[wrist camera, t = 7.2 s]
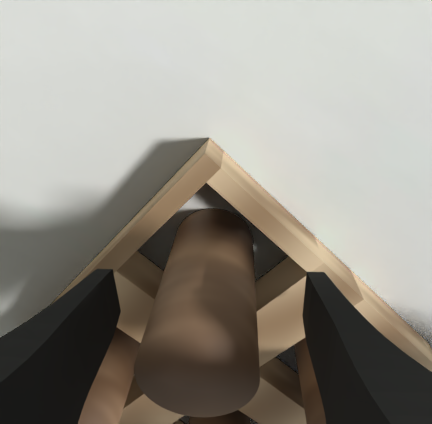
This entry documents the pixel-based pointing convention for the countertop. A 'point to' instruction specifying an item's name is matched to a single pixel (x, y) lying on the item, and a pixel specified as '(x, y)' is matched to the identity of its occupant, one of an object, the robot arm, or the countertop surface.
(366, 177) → the countertop surface
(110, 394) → the stool seat
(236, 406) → the loose leg
